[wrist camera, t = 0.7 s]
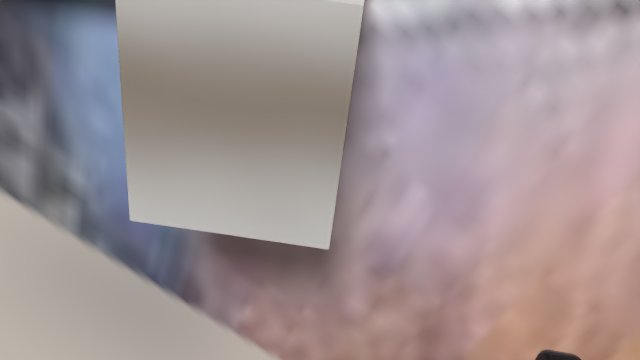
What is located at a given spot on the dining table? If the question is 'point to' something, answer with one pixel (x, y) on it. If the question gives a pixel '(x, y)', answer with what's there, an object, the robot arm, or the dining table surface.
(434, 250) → the dining table surface
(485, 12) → the dining table surface
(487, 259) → the dining table surface
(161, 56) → the housing
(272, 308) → the dining table surface
